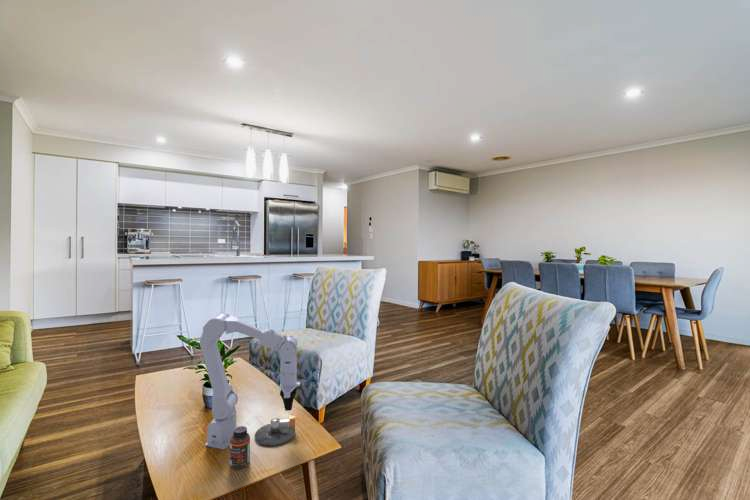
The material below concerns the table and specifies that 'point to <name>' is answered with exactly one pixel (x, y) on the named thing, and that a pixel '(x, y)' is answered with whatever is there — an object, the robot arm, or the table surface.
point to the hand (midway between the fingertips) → (288, 409)
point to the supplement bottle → (239, 448)
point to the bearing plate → (273, 436)
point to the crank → (282, 424)
